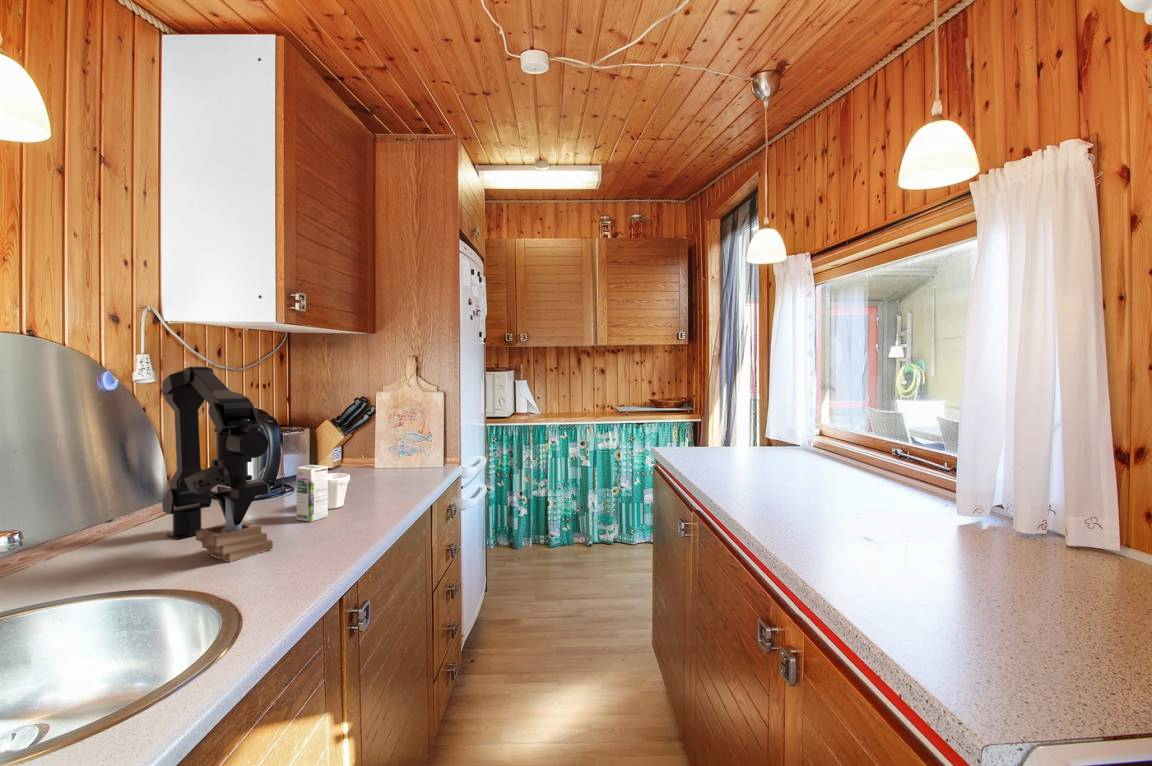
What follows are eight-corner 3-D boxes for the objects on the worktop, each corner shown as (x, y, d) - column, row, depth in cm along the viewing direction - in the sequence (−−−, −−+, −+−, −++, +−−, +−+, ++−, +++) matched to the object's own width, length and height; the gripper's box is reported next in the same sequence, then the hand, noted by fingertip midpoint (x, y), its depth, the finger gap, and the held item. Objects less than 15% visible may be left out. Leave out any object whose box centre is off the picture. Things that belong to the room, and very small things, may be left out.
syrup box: (295, 520, 140) (294, 467, 139) (314, 514, 145) (313, 463, 145) (310, 522, 138) (310, 468, 137) (329, 516, 143) (328, 465, 143)
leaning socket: (196, 558, 111) (195, 530, 111) (251, 542, 121) (250, 517, 121) (217, 566, 107) (216, 537, 107) (272, 549, 117) (272, 523, 117)
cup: (340, 511, 148) (340, 480, 148) (306, 511, 148) (306, 479, 148) (356, 502, 158) (355, 473, 158) (323, 502, 158) (323, 472, 158)
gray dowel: (223, 542, 113) (222, 497, 113) (237, 538, 116) (237, 494, 116) (230, 544, 112) (229, 499, 112) (244, 540, 114) (244, 496, 114)
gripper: (169, 455, 111) (170, 526, 111) (213, 463, 102) (214, 541, 102) (225, 448, 121) (226, 514, 121) (270, 455, 111) (271, 526, 112)
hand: (233, 523), depth 114 cm, fingers closed on gray dowel, 3 cm apart
